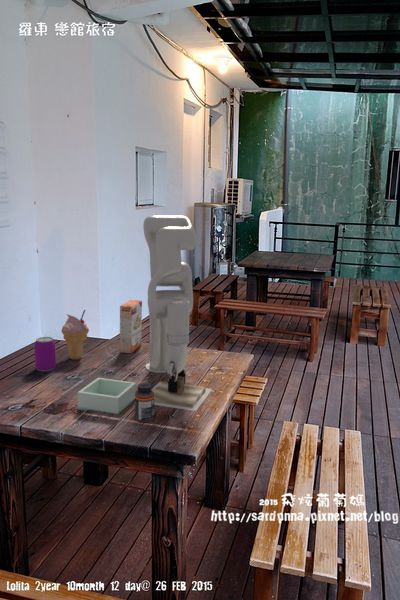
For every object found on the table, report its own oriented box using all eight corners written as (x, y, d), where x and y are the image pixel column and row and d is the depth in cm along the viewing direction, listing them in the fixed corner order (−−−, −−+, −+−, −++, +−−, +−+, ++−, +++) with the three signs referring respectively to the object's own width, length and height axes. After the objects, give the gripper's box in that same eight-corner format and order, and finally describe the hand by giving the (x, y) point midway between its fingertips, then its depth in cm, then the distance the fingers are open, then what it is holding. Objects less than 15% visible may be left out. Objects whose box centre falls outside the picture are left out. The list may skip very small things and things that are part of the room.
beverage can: (52, 372, 201) (51, 342, 198) (32, 371, 201) (31, 341, 198) (58, 365, 208) (57, 336, 206) (39, 365, 208) (38, 336, 206)
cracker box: (132, 354, 225) (132, 306, 221) (119, 352, 227) (118, 305, 222) (142, 345, 239) (142, 300, 235) (129, 343, 240) (129, 299, 236)
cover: (162, 384, 190) (163, 368, 189) (205, 390, 185) (205, 373, 184) (146, 400, 175) (146, 383, 174) (191, 407, 170) (192, 389, 169)
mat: (159, 383, 192) (159, 381, 192) (212, 390, 187) (212, 389, 187) (138, 403, 174) (138, 402, 173) (195, 412, 168) (195, 410, 168)
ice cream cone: (75, 352, 226) (74, 306, 221) (94, 356, 220) (94, 310, 216) (56, 358, 216) (55, 311, 212) (76, 363, 211) (75, 315, 207)
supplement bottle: (135, 415, 165) (135, 381, 162) (154, 415, 165) (154, 381, 163) (134, 424, 159) (134, 388, 156) (154, 423, 159) (154, 388, 157)
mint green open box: (98, 394, 181) (98, 377, 180) (136, 399, 177) (136, 382, 176) (78, 409, 168) (77, 392, 166) (118, 416, 164) (118, 398, 163)
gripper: (175, 330, 185) (174, 378, 189) (157, 343, 169) (157, 395, 172) (196, 332, 183) (194, 380, 187) (179, 346, 167) (178, 398, 170)
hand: (176, 387), depth 179 cm, fingers open, 7 cm apart
